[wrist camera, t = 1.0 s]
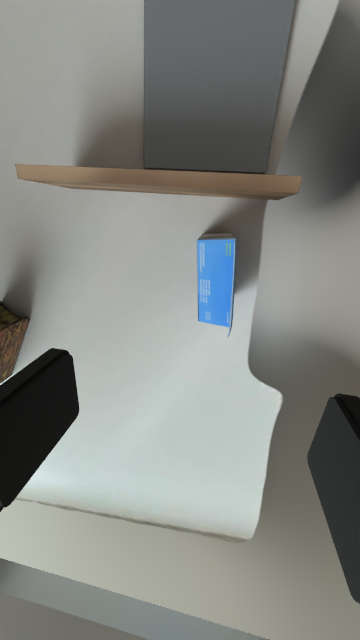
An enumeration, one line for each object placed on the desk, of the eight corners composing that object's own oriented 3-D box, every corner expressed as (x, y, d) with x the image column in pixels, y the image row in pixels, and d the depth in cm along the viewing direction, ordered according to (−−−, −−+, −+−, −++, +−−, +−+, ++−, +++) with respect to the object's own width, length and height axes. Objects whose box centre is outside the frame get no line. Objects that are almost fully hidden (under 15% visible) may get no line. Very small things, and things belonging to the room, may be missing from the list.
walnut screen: (70, 177, 31) (15, 164, 23) (280, 188, 28) (302, 176, 20) (71, 188, 32) (17, 178, 24) (277, 199, 28) (298, 193, 20)
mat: (145, 1, 24) (144, -3, 23) (295, -7, 22) (297, -12, 21) (145, 168, 29) (144, 167, 29) (264, 173, 27) (265, 172, 27)
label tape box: (201, 232, 31) (187, 241, 20) (234, 231, 30) (237, 240, 19) (202, 298, 35) (189, 337, 23) (231, 299, 34) (233, 339, 23)
